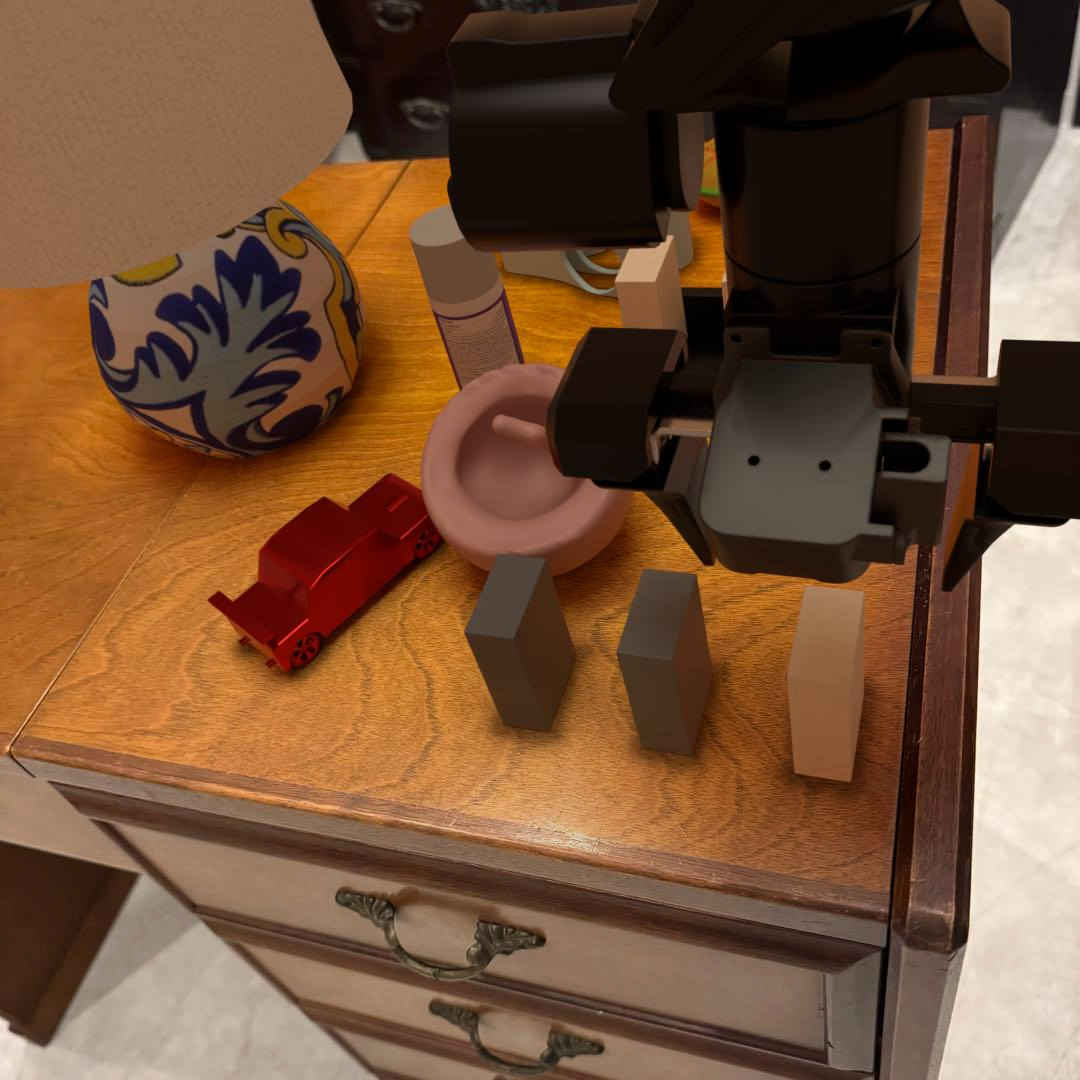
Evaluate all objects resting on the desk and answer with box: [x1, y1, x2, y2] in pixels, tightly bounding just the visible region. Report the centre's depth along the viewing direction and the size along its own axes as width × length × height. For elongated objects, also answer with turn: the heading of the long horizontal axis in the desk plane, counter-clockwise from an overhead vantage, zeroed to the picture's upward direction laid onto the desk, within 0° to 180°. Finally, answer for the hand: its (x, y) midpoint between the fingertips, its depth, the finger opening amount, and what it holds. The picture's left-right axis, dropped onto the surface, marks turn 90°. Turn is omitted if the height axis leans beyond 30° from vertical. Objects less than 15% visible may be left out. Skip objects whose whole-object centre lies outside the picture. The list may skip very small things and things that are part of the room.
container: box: [408, 204, 526, 392], centre depth 67 cm, size 5×5×15 cm
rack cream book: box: [614, 235, 688, 338], centre depth 69 cm, size 3×5×8 cm, turn 162°
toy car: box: [206, 472, 441, 673], centre depth 63 cm, size 14×6×5 cm, turn 137°
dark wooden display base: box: [679, 286, 725, 374], centre depth 69 cm, size 18×8×4 cm, turn 72°
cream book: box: [786, 585, 866, 783], centre depth 48 cm, size 3×5×8 cm, turn 162°
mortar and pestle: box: [420, 362, 635, 577], centre depth 60 cm, size 12×12×11 cm
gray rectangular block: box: [615, 568, 714, 757], centre depth 51 cm, size 3×5×8 cm, turn 162°
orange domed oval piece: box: [699, 137, 720, 208], centre depth 84 cm, size 7×10×5 cm
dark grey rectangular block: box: [463, 554, 577, 733], centre depth 54 cm, size 3×5×8 cm, turn 162°
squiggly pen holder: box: [499, 210, 695, 298], centre depth 82 cm, size 18×10×9 cm, turn 56°
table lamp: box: [0, 0, 366, 459], centre depth 66 cm, size 27×27×40 cm
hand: (824, 570), depth 43 cm, fingers open, 9 cm apart
